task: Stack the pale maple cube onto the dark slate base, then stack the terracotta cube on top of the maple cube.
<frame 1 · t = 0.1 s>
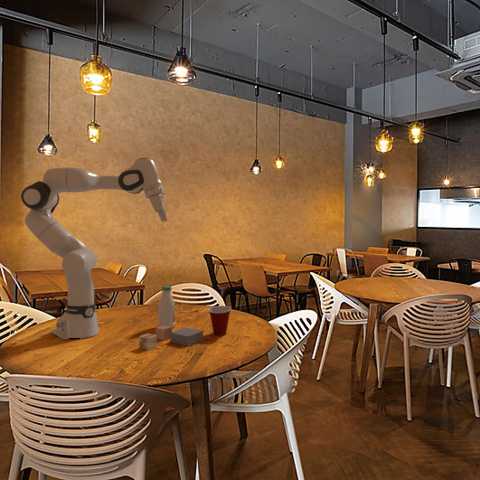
hand: (164, 221, 181), 52 cm above the table, tool tilted 20°, fingers open, 8 cm apart
terracotta cube: (163, 338, 175), on the table
milk bottle: (166, 327, 194), on the table
slate base: (186, 340, 172), on the table
plastic cup: (219, 334, 183), on the table
maple cube: (148, 347, 162), on the table
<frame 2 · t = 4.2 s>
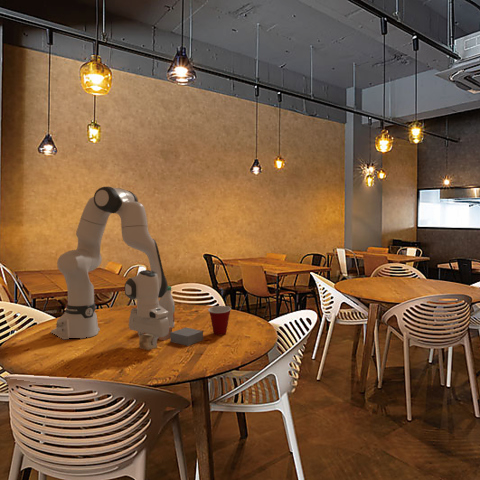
hand: (148, 343, 162), 2 cm above the table, tool pointing down, fingers closed on maple cube, 5 cm apart
maple cube: (148, 347, 162), on the table, touching gripper
everything else where it was.
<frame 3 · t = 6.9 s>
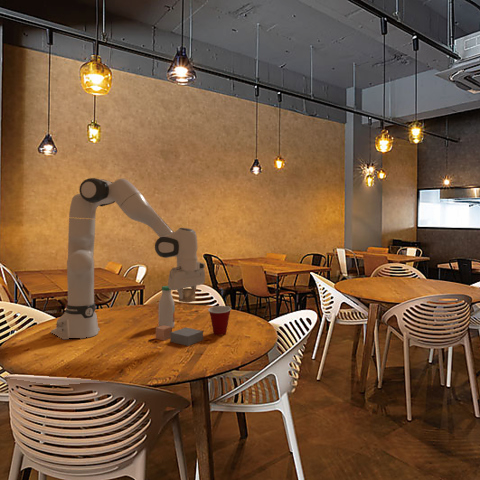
hand: (187, 297, 171), 19 cm above the table, tool pointing down, fingers closed on maple cube, 5 cm apart
maple cube: (187, 301, 171), point 18 cm above the table, touching gripper
everything else where it was.
when the fingers open (7 cm above the table, at t = 9.5 s): maple cube drops 1 cm, resting on slate base.
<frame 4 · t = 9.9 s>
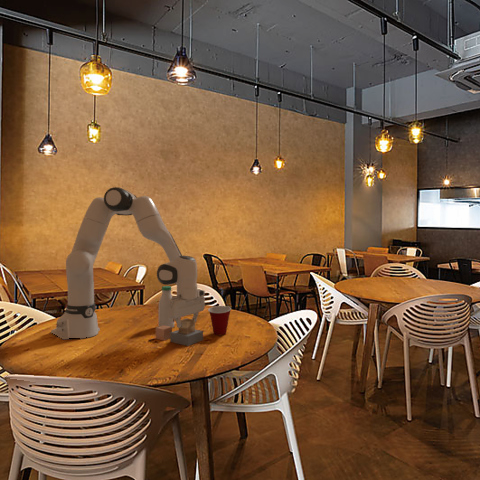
hand: (186, 324, 171), 7 cm above the table, tool pointing down, fingers open, 8 cm apart
maple cube: (186, 331, 172), point 4 cm above the table, touching slate base
everything else where it was.
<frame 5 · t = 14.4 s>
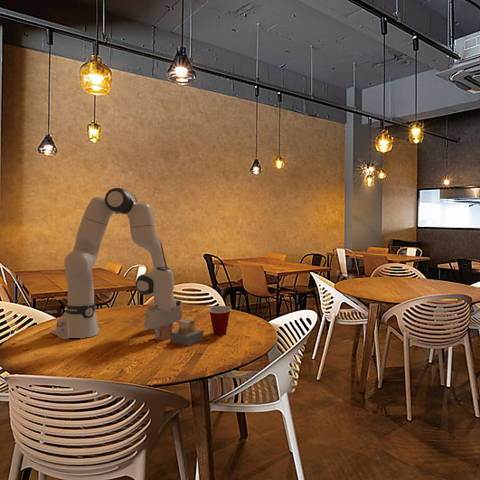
hand: (163, 334, 175), 2 cm above the table, tool pointing down, fingers closed on terracotta cube, 5 cm apart
terracotta cube: (163, 338, 175), on the table, touching gripper
everything else where it was.
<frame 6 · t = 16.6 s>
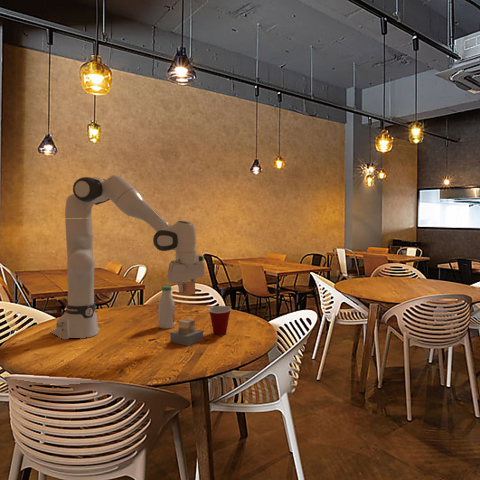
hand: (186, 290, 171), 22 cm above the table, tool pointing down, fingers closed on terracotta cube, 5 cm apart
terracotta cube: (187, 293, 171), point 21 cm above the table, touching gripper
everything else where it was.
when the fingers open (12 cm above the table, at t = 18.8 s): terracotta cube drops 1 cm, resting on maple cube.
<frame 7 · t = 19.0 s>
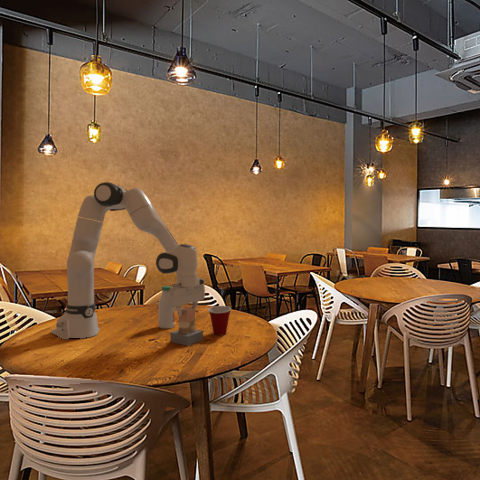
hand: (186, 313, 171), 12 cm above the table, tool pointing down, fingers open, 7 cm apart
terracotta cube: (186, 320, 171), point 9 cm above the table, touching maple cube
maple cube: (186, 331, 172), point 4 cm above the table, touching slate base, terracotta cube
everything else where it was.
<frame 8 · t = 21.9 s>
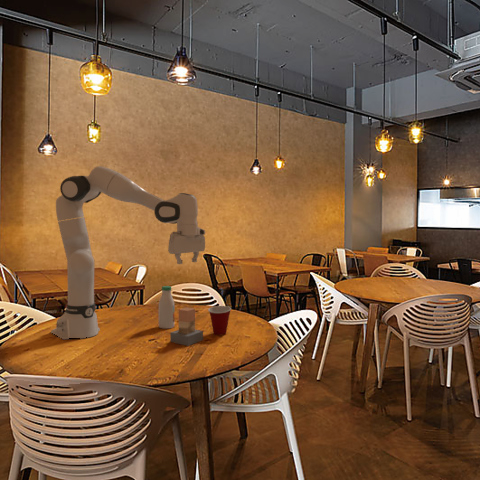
hand: (187, 263, 170), 34 cm above the table, tool pointing down, fingers open, 8 cm apart
nothing on the table moved.
at the end: maple cube inside the target area on the slate base (0.1 cm from its centre), point 4.0 cm above the slate base's base; terracotta cube inside the target area on the maple cube (0.0 cm from its centre), point 5.0 cm above the maple cube's base; the gripper is holding nothing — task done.
